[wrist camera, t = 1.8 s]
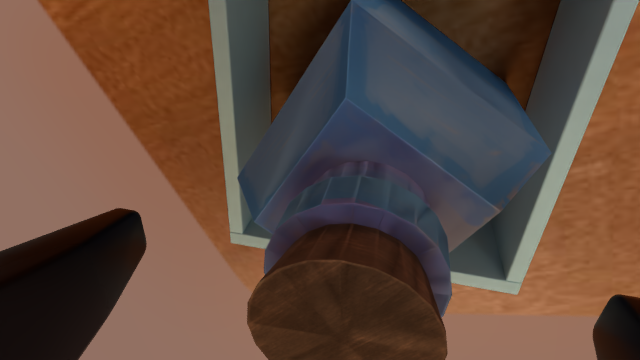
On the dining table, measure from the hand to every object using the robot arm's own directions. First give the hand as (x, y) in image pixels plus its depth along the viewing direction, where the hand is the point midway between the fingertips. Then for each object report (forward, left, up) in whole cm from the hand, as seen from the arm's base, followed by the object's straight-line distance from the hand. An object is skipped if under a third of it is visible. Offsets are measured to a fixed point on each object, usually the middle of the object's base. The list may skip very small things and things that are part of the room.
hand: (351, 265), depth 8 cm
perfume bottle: (0, 0, -11) cm, 11 cm away
